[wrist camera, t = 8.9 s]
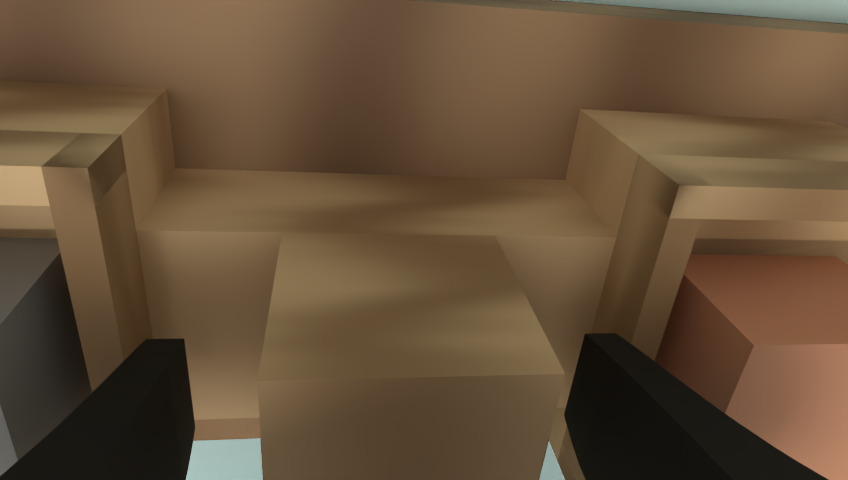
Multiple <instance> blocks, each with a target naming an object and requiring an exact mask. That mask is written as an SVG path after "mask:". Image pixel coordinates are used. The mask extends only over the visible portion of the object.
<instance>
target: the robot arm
mask: <svg viewBox="0 0 848 480" xmlns="http://www.w3.org/2000/svg"><path fill="white" fill-rule="evenodd" d="M564 417H565V421H566V424H567V428H568V431H569V435H570V438H571V442H572V445H573V448H574V451H575V454H576V457H577V460H578V463H579V466H580V468H581V470H582V473H583V475H584V477H585V480H828V479H827V478H825V477H823V476H822V475H820V474H818V473H816V472H815V471H813V470H811V469H810V468H808V467H806V466H805V465H803V464H801V463H799V462H798V461H796V460H794V459H793V458H791V457H790V456H788V455H786V454H785V453H783V452H782V451H780V450H778V449H777V448H775V447H774V446H772V445H771V444H769V443H768V442H766V441H765V440H763V439H762V438H760V437H759V436H757V435H756V434H754V433H753V432H751V431H750V430H748V429H747V428H745V427H744V426H742V425H741V424H739V423H738V422H736V421H735V420H734V419H732V418H731V417H729V416H728V415H727V414H725V413H724V412H722V411H721V410H719V409H718V408H717V407H715V406H714V405H712V404H711V403H710V402H708V401H707V400H706V399H704V398H703V397H702V396H700V395H699V394H697V393H696V392H695V391H693V390H692V389H691V388H689V387H688V386H687V385H685V384H684V383H683V382H681V381H680V380H679V379H677V378H676V377H675V376H673V375H672V374H671V373H669V372H668V371H667V370H665V369H664V368H663V367H661V366H660V365H659V364H657V363H656V362H655V361H653V360H652V359H651V358H650V357H648V356H647V355H645V354H644V353H643V352H641V351H640V350H639V349H637V348H636V347H635V346H633V345H632V344H630V343H629V342H628V341H626V340H625V339H623V338H622V337H620V336H619V335H617V334H616V333H591V334H585V335H584V339H583V343H582V347H581V350H580V354H579V358H578V362H577V366H576V370H575V374H574V377H573V381H572V385H571V389H570V393H569V397H568V401H567V404H566V408H565V412H564ZM194 433H195V421H194V413H193V405H192V397H191V389H190V381H189V373H188V365H187V357H186V349H185V341H184V338H180V339H146V340H145V341H143V342H142V343H141V344H140V345H139V346H138V347H137V348H136V349H135V350H134V351H133V352H132V353H131V354H130V355H129V356H128V357H127V358H126V359H125V360H124V361H123V362H122V363H121V364H120V365H119V366H118V367H117V368H116V369H115V370H114V371H113V372H112V373H111V374H110V375H109V376H108V377H107V378H106V379H105V380H104V381H103V382H102V383H101V384H100V385H99V386H98V387H97V388H96V389H95V390H94V391H93V392H92V393H91V394H90V395H89V396H88V397H87V398H86V399H85V400H84V401H83V402H82V403H81V404H80V405H79V406H78V407H76V408H75V409H74V410H73V411H72V412H71V413H70V414H69V415H68V416H67V417H66V418H65V419H64V420H63V421H62V422H61V423H60V424H59V425H58V426H57V427H55V428H54V429H53V430H52V431H51V432H50V433H49V434H48V435H47V436H46V437H45V438H43V439H42V440H41V441H40V442H39V443H38V444H37V445H35V446H34V447H33V448H32V449H31V450H30V451H29V452H27V453H26V454H25V455H24V456H23V457H22V458H20V459H19V460H18V461H17V462H16V463H15V464H14V465H12V466H11V467H10V468H9V469H8V470H7V471H6V472H4V473H3V474H2V475H1V476H0V480H186V475H187V470H188V465H189V460H190V455H191V449H192V444H193V438H194Z"/></svg>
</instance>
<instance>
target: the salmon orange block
mask: <svg viewBox="0 0 848 480" xmlns="http://www.w3.org/2000/svg"><path fill="white" fill-rule="evenodd" d="M655 362H656V363H657V364H659V365H660V366H661V367H663V368H664V369H665V370H667V371H668V372H669V373H671V374H672V375H673V376H675V377H676V378H677V379H679V380H680V381H681V382H683V383H684V384H685V385H687V386H688V387H689V388H691V389H692V390H693V391H695V392H696V393H697V394H699V395H700V396H702V397H703V398H704V399H706V400H707V401H708V402H710V403H711V404H712V405H714V406H715V407H717V408H718V409H719V410H721V411H722V412H724V413H725V414H727V415H728V416H729V417H731V418H732V419H734V420H735V421H736V422H738V423H739V424H741V425H742V426H744V427H745V428H747V429H748V430H750V431H751V432H753V433H754V434H756V435H757V436H759V437H760V438H762V439H763V440H765V441H766V442H768V443H769V444H771V445H772V446H774V447H775V448H777V449H778V450H780V451H782V452H783V453H785V454H786V455H788V456H790V457H791V458H793V459H794V460H796V461H798V462H799V463H801V464H803V465H805V466H806V467H808V468H810V469H811V470H813V471H815V472H816V473H818V474H820V475H822V476H823V477H825V478H827V479H828V480H848V264H846V263H845V262H843V261H842V260H840V259H839V258H837V257H836V256H785V255H702V254H690V256H689V259H688V262H687V265H686V268H685V271H684V274H683V277H682V280H681V283H680V286H679V289H678V292H677V295H676V298H675V301H674V304H673V307H672V310H671V313H670V316H669V319H668V322H667V325H666V328H665V331H664V334H663V337H662V340H661V343H660V346H659V349H658V352H657V355H656V358H655Z"/></svg>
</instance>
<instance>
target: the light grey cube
mask: <svg viewBox="0 0 848 480" xmlns="http://www.w3.org/2000/svg"><path fill="white" fill-rule="evenodd" d="M91 393H92V390H91V385H90V381H89V377H88V372H87V368H86V363H85V359H84V355H83V350H82V346H81V341H80V337H79V333H78V328H77V324H76V319H75V315H74V310H73V306H72V302H71V297H70V293H69V288H68V284H67V280H66V275H65V271H64V266H63V262H62V258H61V253H60V249H59V244H58V240H57V239H55V238H0V476H1V475H2V474H3V473H4V472H6V471H7V470H8V469H9V468H10V467H11V466H12V465H14V464H15V463H16V462H17V461H18V460H19V459H20V458H22V457H23V456H24V455H25V454H26V453H27V452H29V451H30V450H31V449H32V448H33V447H34V446H35V445H37V444H38V443H39V442H40V441H41V440H42V439H43V438H45V437H46V436H47V435H48V434H49V433H50V432H51V431H52V430H53V429H54V428H55V427H57V426H58V425H59V424H60V423H61V422H62V421H63V420H64V419H65V418H66V417H67V416H68V415H69V414H70V413H71V412H72V411H73V410H74V409H75V408H76V407H78V406H79V405H80V404H81V403H82V402H83V401H84V400H85V399H86V398H87V397H88V396H89V395H90V394H91Z"/></svg>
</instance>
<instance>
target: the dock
mask: <svg viewBox="0 0 848 480" xmlns="http://www.w3.org/2000/svg"><path fill="white" fill-rule="evenodd" d="M0 80H4V81H24V82H44V83H64V84H84V85H105V86H125V87H145V88H165V89H167V97H168V106H169V115H170V123H171V132H172V141H173V149H174V158H175V167H176V168H182V169H216V170H250V171H283V172H317V173H350V174H384V175H418V176H451V177H485V178H518V179H552V180H565V179H566V174H567V169H568V165H569V160H570V155H571V150H572V145H573V141H574V136H575V131H576V126H577V121H578V117H579V112H580V109H589V110H609V111H629V112H650V113H670V114H690V115H710V116H730V117H750V118H771V119H791V120H811V121H830V122H832V123H835V124H837V125H840V126H842V127H844V128H847V129H848V24H840V23H828V22H815V21H803V20H790V19H778V18H765V17H753V16H740V15H728V14H715V13H703V12H690V11H678V10H665V9H652V8H640V7H627V6H615V5H602V4H590V3H577V2H565V1H552V0H0ZM194 421H195V433H194V438H193V441H197V440H223V439H250V438H261V435H260V418H237V419H207V420H194Z"/></svg>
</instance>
